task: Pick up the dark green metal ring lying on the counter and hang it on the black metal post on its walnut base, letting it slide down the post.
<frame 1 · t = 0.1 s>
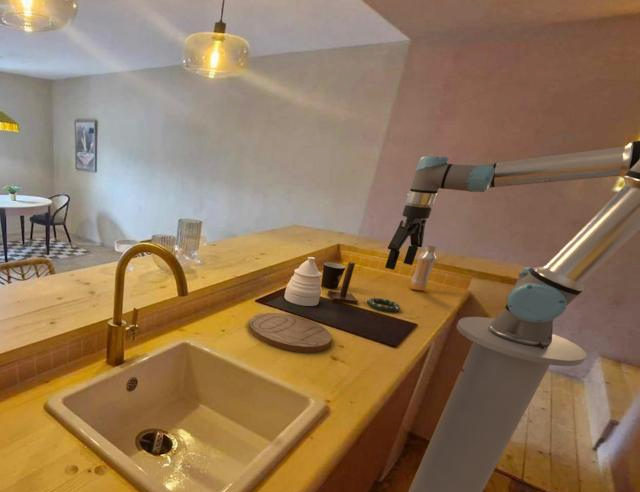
hand: (398, 266, 138), 19 cm above the counter, tool pointing down, fingers open, 13 cm apart
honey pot: (301, 300, 157), on the counter
trivet: (287, 334, 127), on the counter
post: (341, 299, 160), on the counter
ring: (383, 304, 153), point 1 cm above the counter
coffee mug: (331, 287, 174), on the counter
plastic bottle: (416, 290, 176), on the counter
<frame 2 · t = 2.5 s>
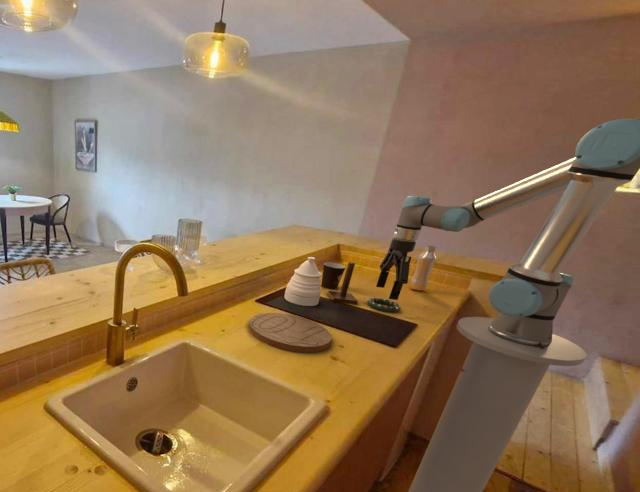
hand: (386, 292, 152), 6 cm above the counter, tool pointing down, fingers open, 13 cm apart
nothing on the counter moved.
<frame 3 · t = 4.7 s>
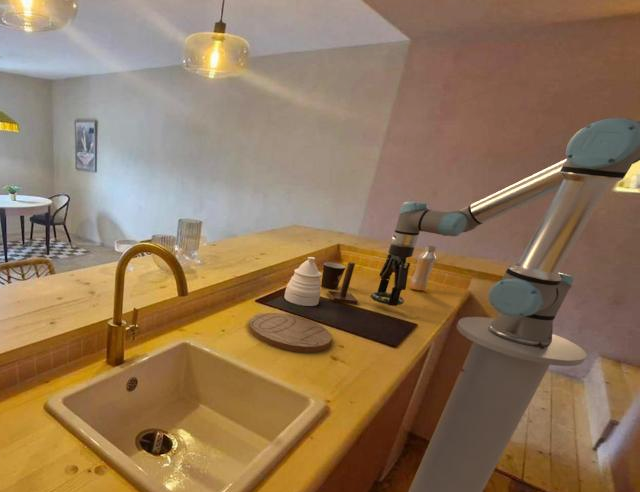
hand: (386, 300, 152), 3 cm above the counter, tool pointing down, fingers closed on ring, 11 cm apart
ring: (387, 298, 152), point 4 cm above the counter, touching gripper
everything else where it was.
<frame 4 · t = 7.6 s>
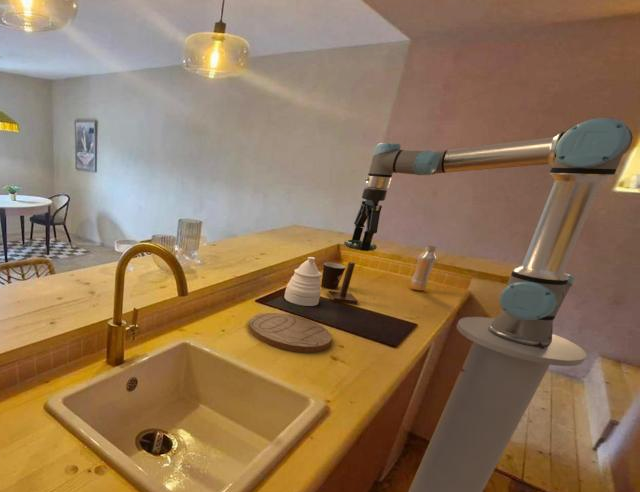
hand: (359, 247, 151), 22 cm above the counter, tool pointing down, fingers closed on ring, 11 cm apart
ring: (360, 245, 151), point 23 cm above the counter, touching gripper
everything else where it was.
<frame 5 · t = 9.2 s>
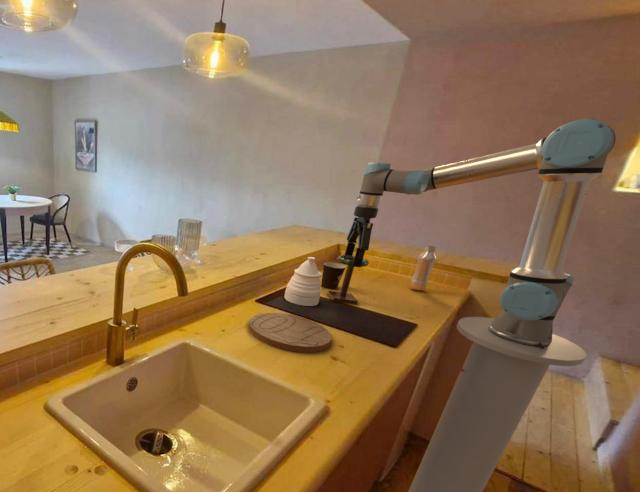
hand: (351, 262, 154), 16 cm above the counter, tool pointing down, fingers closed on ring, 11 cm apart
ring: (352, 260, 154), point 16 cm above the counter, touching gripper
everything else where it was.
when the fingers open (13 cm above the counter, at t = 10.5 s): ring drops 11 cm, resting on post.
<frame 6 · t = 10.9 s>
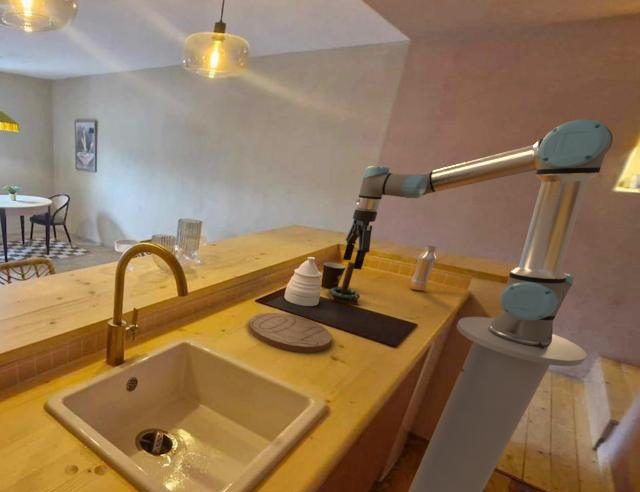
hand: (351, 264, 154), 15 cm above the counter, tool pointing down, fingers open, 13 cm apart
ring: (344, 293, 159), point 2 cm above the counter, touching post
everything else where it was.
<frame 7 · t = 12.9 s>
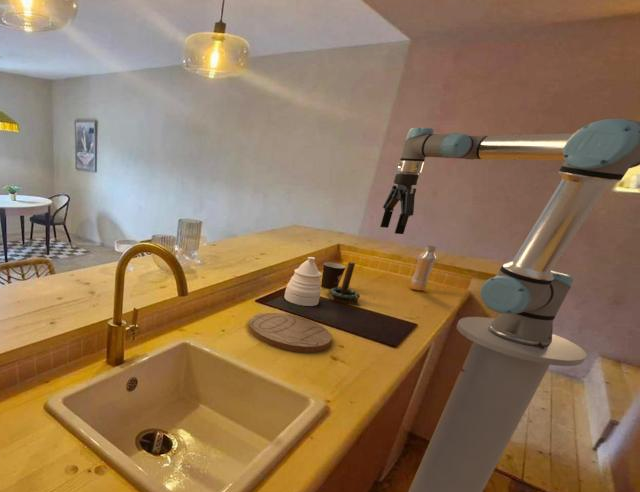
hand: (391, 230, 153), 28 cm above the counter, tool pointing down, fingers open, 13 cm apart
nothing on the counter moved.
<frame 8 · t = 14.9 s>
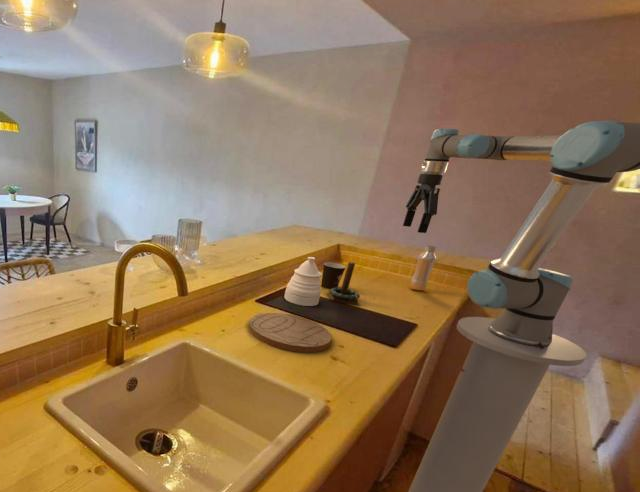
hand: (413, 229, 156), 29 cm above the counter, tool pointing down, fingers open, 13 cm apart
nothing on the counter moved.
at the end: ring 0.3 cm off-centre on the post, point 2.5 cm above the post's base; the gripper is holding nothing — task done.
